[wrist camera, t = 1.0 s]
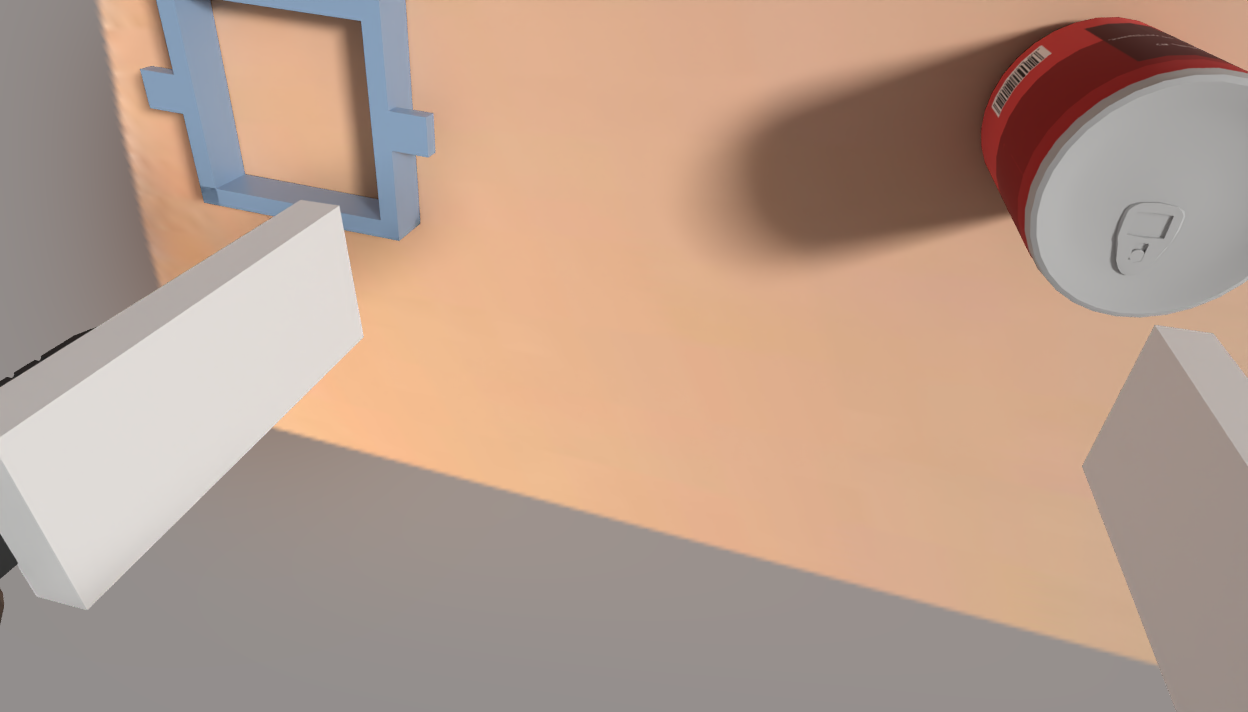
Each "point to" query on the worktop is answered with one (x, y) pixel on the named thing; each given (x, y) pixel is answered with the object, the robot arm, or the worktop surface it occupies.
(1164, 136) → the canned food
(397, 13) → the divided frame
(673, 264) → the worktop surface
